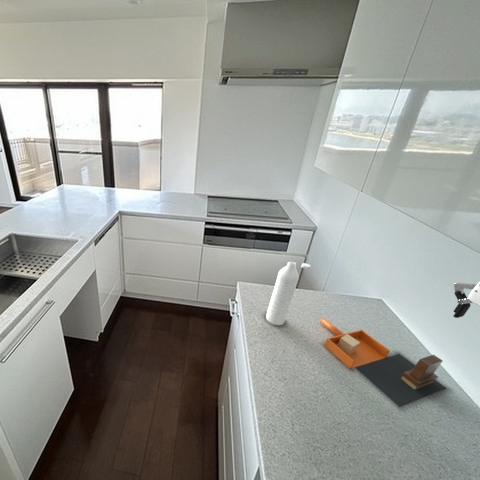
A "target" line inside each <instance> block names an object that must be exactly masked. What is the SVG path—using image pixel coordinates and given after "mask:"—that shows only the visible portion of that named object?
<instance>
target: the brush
mask: <svg viewBox="0 0 480 480" xmlns="http://www.w3.org/2000/svg"><path fill="white" fill-rule="evenodd" d="M442 363H443V359H441V358H440V357H439V356H436V354H431V355H428V356H425V357H422V358H419V359H418V361H417V363H416V364H415V365H416V366H415V367H414V369H412V370H409V371H406V372H404V373H403V375H402V378H401V379H402V380H403V381H404V382H405V383H407V384H408V385H409V386H411V387H412V388H413V389H414V390H415V389H417V388H420V387H423V386H425V385H428V384H430V383H433V381H434V380H436V381H437V380H438V378H439V376H438V375H436V374H435V372H436V371H437V370H438V368H439V367H440V365H441V364H442Z"/></svg>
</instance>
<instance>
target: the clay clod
mask: <svg viewBox="0 0 480 480" xmlns="http://www.w3.org/2000/svg"><path fill="white" fill-rule="evenodd" d="M346 334H347V333H346ZM359 344H360V342H359V341H357V340H356V339H354V338H353V337H351V336H350V335H348V334H347V335H345V336H343V337H342V338H341V339H340V341H339V343H338V345H337V346H338V347H339V348H340V349H341V350H342V351H343V352H345V353H346V354H348V355H351V354H352V353H354V352H356V350H357V348H358V346H359Z"/></svg>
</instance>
